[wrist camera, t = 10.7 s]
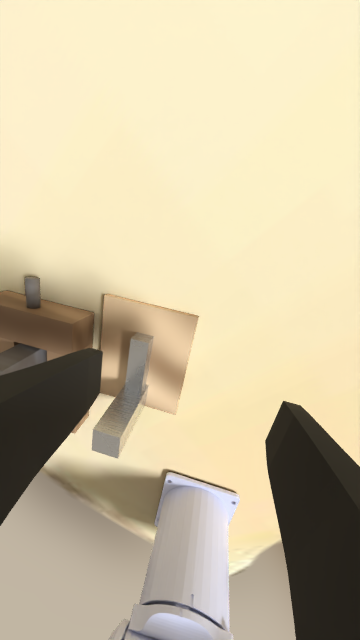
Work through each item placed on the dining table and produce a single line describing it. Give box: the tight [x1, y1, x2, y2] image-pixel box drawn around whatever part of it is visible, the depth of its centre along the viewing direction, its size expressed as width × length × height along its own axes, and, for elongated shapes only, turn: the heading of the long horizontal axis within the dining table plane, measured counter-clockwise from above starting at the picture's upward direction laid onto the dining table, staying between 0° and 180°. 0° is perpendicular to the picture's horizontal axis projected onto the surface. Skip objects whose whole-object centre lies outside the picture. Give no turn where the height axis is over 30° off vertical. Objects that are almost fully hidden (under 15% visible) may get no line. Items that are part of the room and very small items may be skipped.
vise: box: [0, 277, 94, 433], centre depth 19 cm, size 14×9×6 cm, turn 169°
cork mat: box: [100, 294, 199, 415], centre depth 20 cm, size 10×8×1 cm
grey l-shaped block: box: [92, 332, 154, 458], centre depth 17 cm, size 7×2×6 cm, turn 169°
